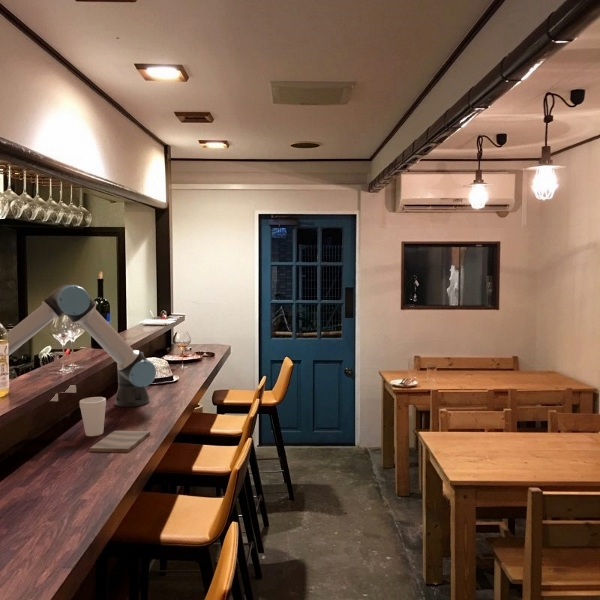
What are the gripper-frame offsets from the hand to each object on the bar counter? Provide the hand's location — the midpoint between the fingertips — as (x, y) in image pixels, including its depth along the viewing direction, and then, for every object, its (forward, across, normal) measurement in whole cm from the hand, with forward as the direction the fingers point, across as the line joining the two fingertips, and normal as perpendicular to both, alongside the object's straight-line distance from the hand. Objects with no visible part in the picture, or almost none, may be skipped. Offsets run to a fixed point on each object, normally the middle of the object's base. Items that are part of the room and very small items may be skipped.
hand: (66, 393), depth 231 cm
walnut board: (+25, +10, -15) cm, 31 cm away
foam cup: (+10, 0, -16) cm, 19 cm away
